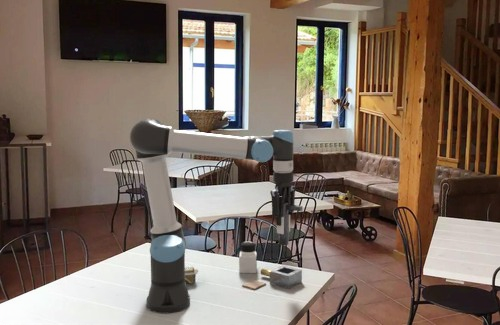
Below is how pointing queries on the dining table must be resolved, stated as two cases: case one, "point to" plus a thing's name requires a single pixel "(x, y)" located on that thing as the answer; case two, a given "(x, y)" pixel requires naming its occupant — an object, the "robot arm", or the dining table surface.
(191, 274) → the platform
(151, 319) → the dining table surface
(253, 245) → the medicine bottle
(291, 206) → the chuck key
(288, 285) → the block
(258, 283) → the copper plate
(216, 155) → the robot arm
